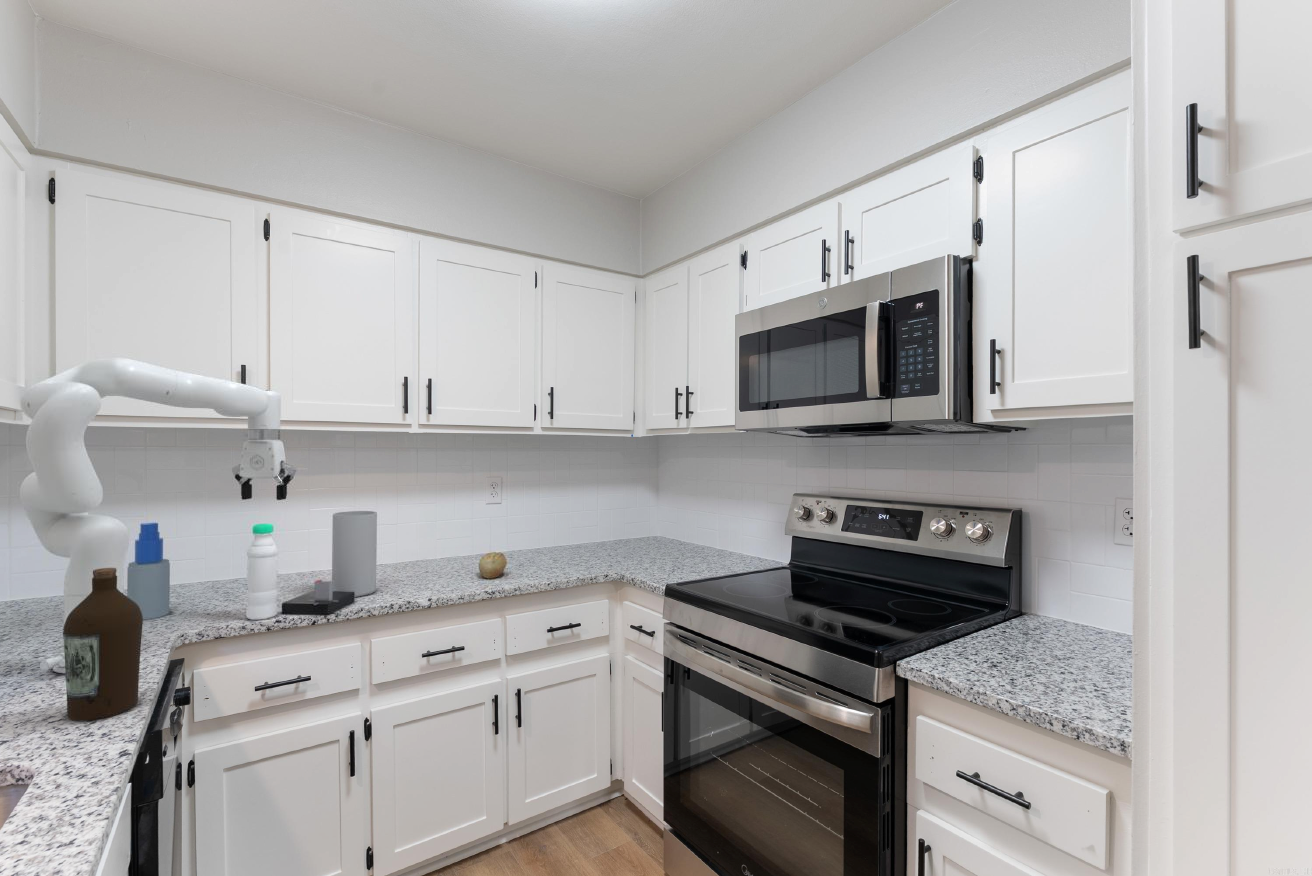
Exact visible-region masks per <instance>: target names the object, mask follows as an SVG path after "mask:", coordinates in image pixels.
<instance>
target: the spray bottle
mask: <svg viewBox="0 0 1312 876" xmlns="http://www.w3.org/2000/svg"><path fill="white" fill-rule="evenodd" d="M139 528H140V531H139V533H138V538H137V539H134V561H132V562H129V563H128V566H127V568H126V569H127V576H126V577H127V578H126V581H127V582H126V583H127V584H126V587H127V588H126V596H127V597H128V598H130V599H131V600H133V601H134V602H135V603H136V604H137V605H138V606H139V608H140V610H141V613H142V616H143V621H144V620H151V619H158V618H161V617H165V616H167V615H168V614H170V602H171V601H170V599H171V598H170V596H171V595H170V594H171V593H170V591H171V589H170V588H171V587H170V586H171V585H170V584H171V581H170V580H171V563H170V559H168V558H164V538H163V537H160V531H159V523H158V522H141V523H140V527H139Z"/></svg>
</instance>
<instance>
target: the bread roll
mask: <svg viewBox="0 0 1312 876" xmlns="http://www.w3.org/2000/svg"><path fill="white" fill-rule="evenodd" d="M507 565H508V561H507V557H506V555H504V553H502V552H501V551H500V552H495V551H493V552H488V553H485V554H484V555H483V556H482V557H481V558H480V559H479V562H478V571H479V573H480V575H481V576H482V577H483V578H485V579H488V580H491V579H495V578H497V577H500V575H502V574H503V572H504V570H505V569H506V567H507Z"/></svg>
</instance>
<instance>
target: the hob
mask: <svg viewBox="0 0 1312 876" xmlns="http://www.w3.org/2000/svg"><path fill="white" fill-rule="evenodd" d="M355 598H356V597H355V592H342V591H332V601H330V602H318V601H315V590H311V591H307V592H306V593H303V594H301V595H299V596H296V597H293V598H291V599H288V600H287V601H284V602H281V615H306V616H308V615H309V616H329V615H331V614H332V613H335V612H337V611H339V610H341V609H343V608H345V607H347V606H349V605H351V604H353V603H355V601H356V600H355Z"/></svg>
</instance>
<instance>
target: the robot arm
mask: <svg viewBox="0 0 1312 876" xmlns="http://www.w3.org/2000/svg"><path fill="white" fill-rule="evenodd" d="M117 396H118V397H123V398H128V399H134V400H138V401H146V402H150V403H154V404H160V405H165V406H169V407H175V408H184V409H208V410H209V409H210V410H213V411H214V412H215V413H217V414H218V415H221V416H223V417H228V418H245V417H247V431H244V433H243V436H244V437H245V438H247V440H246V441H243V442H244V443H243V446H242V450H241V455H240V456H241V457H240V463H239V464H238V465H236V466H233V467H232V468H231V471H232V474H233V476H234V479H235V480H236V481H237V482H238V484H239V485H240V496H241V500H243V501H245V500H251V499H252V498H253V485H252V483H251V482H252V481H253V480H254V479H274V481H276V483H277V485H276V486H275V487H276V498H275V499H276V500H277V501H282V500H286V499H287V495H288V485H290V482H291V481H292V480H293V479H294V476H295V474H296V472H297V468H295V467H294V466H292V465H290V464H289V463H287V460H286V453H285V446H284V443H283V441H281V406H282V405H281V404H282V403H281V401H282V400H281V395H280V393H279V392H278V391H274V390H262V389H261V388H258V387H256V386H252V385H249V384H245V383H241V382H236V381H233V380H227V379H223V378H216V377H210V376H206V375H201V374H195V373H190V372H185V371H180V370H177V369H173V368H168V367H164V366H161V365H157V364H152V363H149V362H148V363H147V362H144V361H141V360H136V359H132V358H128V357H127V358H126V357H106V358H95V359H91V360H88V361H86V362H82V363H81V364H77V365H76V366H73V367H72V368H69V369H67V370H65V371H63V372H60V373H57V374H56V375H53V376H51V377H49V378H46V379H43V380H42V381H39V382H37V383H35V384H33V385H31V386H29V387H28V388H27V389H26V390H25V391H24V392H23V393H22V395H21V397H20V401H19V405H20V408H21V411H22V412H23V413H24V415H25V416H26V417H27V418H29V419H31V421H30V423H29V425H28V428H27V431H26V435H25V447H26V452H27V455H28V459H29V460H30V463H31V465H32V468H33V469H32V470H33V471H32V472H31V473H30V474H28V475H27V476H26V477H25V478H24V479H23V481H22V483H21V485H20V489H19V499H20V503H21V505H22V508H23V510H24V512H25V513H26V516H27V518H28V520H29V522H30V525H31V526H32V528H33V530H34V532H35V535H36V537H37V539H38V540H39V543H40V544H41V545H42V547H43V548H44V549H45V550H46V551H48V552H49V553H50V554H52V555H54V556H58V557H62V558H67V559H69V562H68V566H67V569H66V571H65V575H64V581H63V625H64V624H65V622H66V619H67V617H68V615H69V614H70V612H71V611H72V610H73V609H74V608H75V607H76V606H78V605H79V604H80V603H81V602H82V601H83V600H84V599H85V598H86V597H87V596H88V595H89V594H90V593H91V592H92V578H93V571H94V570H96V569H101V568H116V576H117V589H118V590H119V591H120V592H121V593H123V594H124V595H125V586H124V585H125V565H126V558H127V554H128V551H129V546H130V532H129V529H128V528H127V527H126V525H125V524H124V523H123V522H122V521H120V520H119V519H118V518H115V517H112V516H108V515H103V514H91V513H90V514H89V512H90V511H92V510H95V509H96V508H97V507H98V506H99V505H100V504H101V502H102V501H103V498H104V489H103V486H102V483H101V481H100V479H99V477H98V475H97V472H96V471H95V468H94V466H93V464H92V461H91V459H90V456H89V454H88V451H87V449H86V445H85V439H84V437H85V433H86V430H87V427H88V426H89V425H90V423H91V421H92V420H94V418H95V417H96V416H97V415H98V413H99V412H100V410H101V407H102V399H103V398H106V397H117ZM286 473H287V474H286ZM39 668H40V669H41V670H42V671H46V670H49V669H52V671H54V672H55V673H58V674H66V672H65V655H64V647H62V648H59V649H58V653H57V654H56V655H55V656H54V657H50V658H46V659H43V660H42V661H40V662H39Z"/></svg>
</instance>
